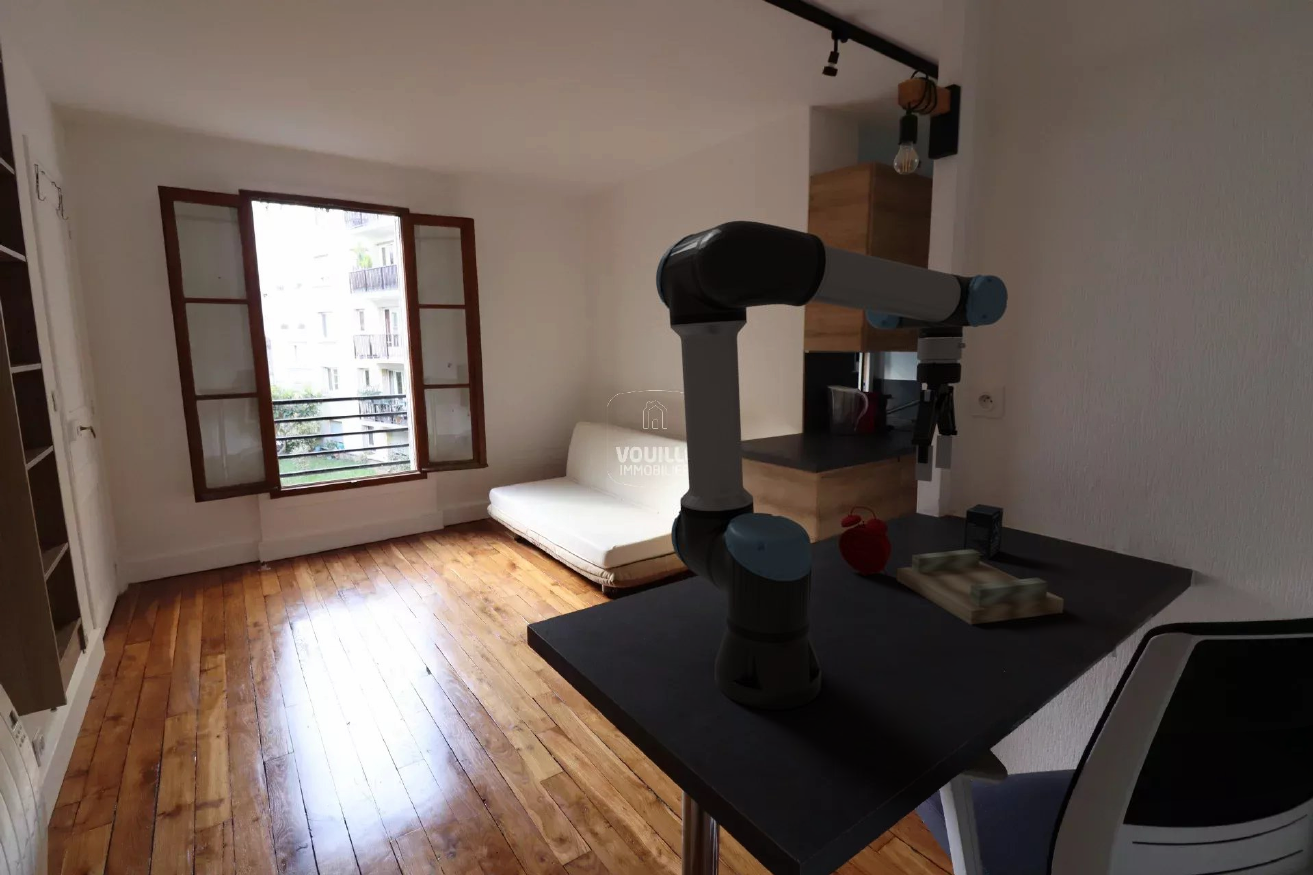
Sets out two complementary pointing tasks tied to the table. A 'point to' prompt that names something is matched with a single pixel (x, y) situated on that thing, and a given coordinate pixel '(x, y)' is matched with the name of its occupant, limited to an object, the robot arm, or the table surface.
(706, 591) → the table surface
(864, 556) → the alarm clock
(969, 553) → the display stand
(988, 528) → the box
